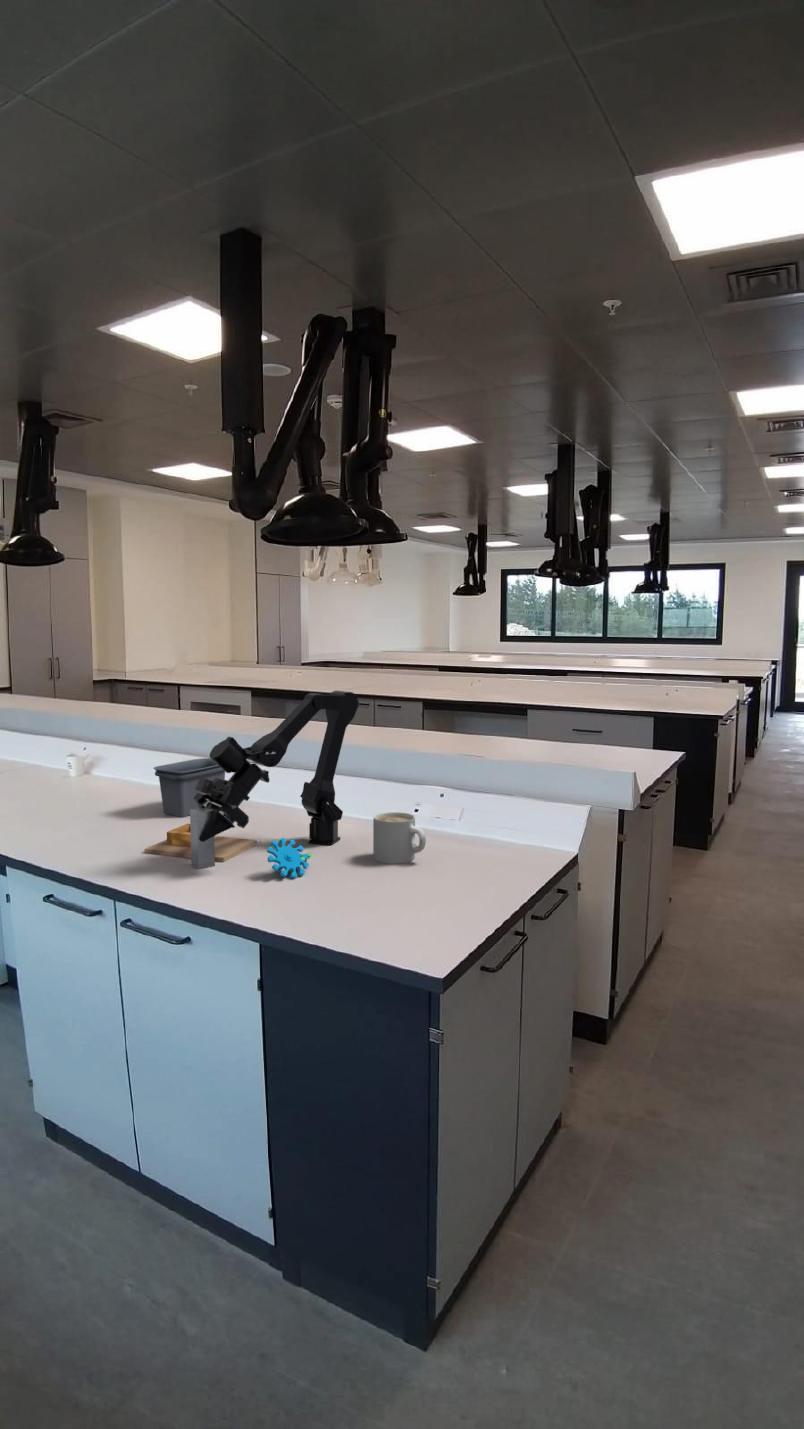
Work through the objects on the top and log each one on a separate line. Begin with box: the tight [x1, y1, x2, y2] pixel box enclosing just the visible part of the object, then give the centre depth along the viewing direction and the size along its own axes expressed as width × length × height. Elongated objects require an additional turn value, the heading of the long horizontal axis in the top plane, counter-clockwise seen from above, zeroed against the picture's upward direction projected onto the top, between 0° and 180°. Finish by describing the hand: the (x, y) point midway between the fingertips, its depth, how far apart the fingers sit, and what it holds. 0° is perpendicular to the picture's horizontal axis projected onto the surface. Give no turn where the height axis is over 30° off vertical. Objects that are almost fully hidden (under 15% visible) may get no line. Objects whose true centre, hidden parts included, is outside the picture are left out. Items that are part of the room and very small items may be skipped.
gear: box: [266, 837, 313, 879], centre depth 169 cm, size 11×6×10 cm
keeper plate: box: [144, 823, 258, 863], centre depth 188 cm, size 22×16×4 cm
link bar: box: [189, 808, 216, 870], centre depth 173 cm, size 4×4×13 cm
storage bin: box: [153, 757, 226, 818], centre depth 227 cm, size 21×16×14 cm
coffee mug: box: [372, 811, 427, 865], centre depth 180 cm, size 13×10×10 cm
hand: (196, 838), depth 172 cm, fingers closed on link bar, 4 cm apart
